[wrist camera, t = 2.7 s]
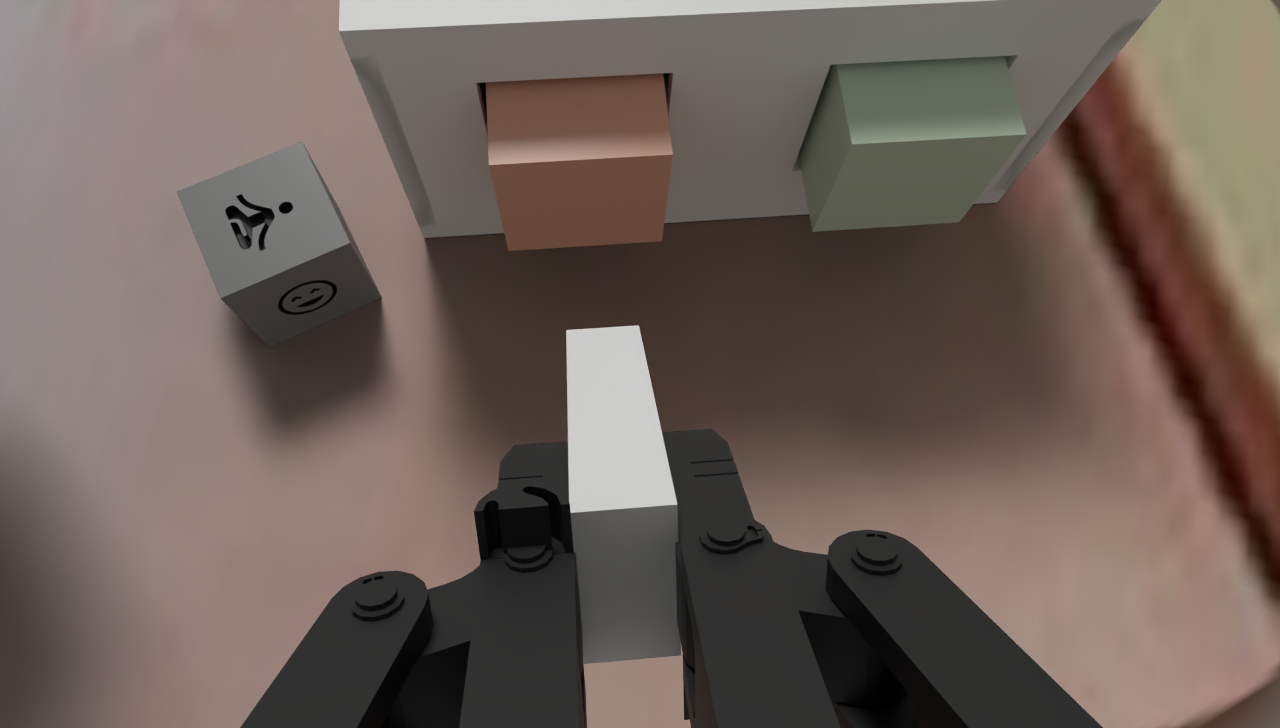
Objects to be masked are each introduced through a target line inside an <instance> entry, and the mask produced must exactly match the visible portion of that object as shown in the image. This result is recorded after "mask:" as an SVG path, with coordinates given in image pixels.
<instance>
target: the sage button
mask: <svg viewBox="0 0 1280 728" xmlns="http://www.w3.org/2000/svg"><path fill="white" fill-rule="evenodd" d="M1026 135H1027V134H1026V130H1025V127H1024V123H1023V120H1022V116H1021V112H1020V109H1019V105H1018V102H1017V98H1016V95H1015V91H1014V88H1013V84H1012V81H1011V77H1010V73H1009V70H1008V66H1007V63H1006V59H1005V56H992V57H973V58H953V59H933V60H914V61H894V62H874V63H855V64H835V65H830V68H829V71H828V74H827V76H826V79H825V82H824V85H823V87H822V90H821V93H820V96H819V98H818V101H817V104H816V107H815V109H814V112H813V115H812V118H811V120H810V123H809V126H808V129H807V132H806V134H805V137H804V140H803V143H802V145H801V148H800V151H799V159H800V165H801V171H802V176H803V182H804V188H805V193H806V199H807V205H808V210H809V216H810V222H811V227H812V232H816V231H832V230H848V229H864V228H880V227H896V226H911V225H927V224H943V223H959V222H960V221H961V219H962V218H963V217H964V216H965V214H966V213H967V212H968V210H969V209H970V208H971V206H972V205H973V204H974V203H975V201H976V200H977V199H978V197H979V196H980V195H981V193H982V192H983V191H984V189H985V188H986V187H987V186H988V184H989V183H990V182H991V180H992V179H993V178H994V176H995V175H996V174H997V172H998V171H999V170H1000V169H1001V167H1002V166H1003V165H1004V163H1005V162H1006V161H1007V159H1008V158H1009V157H1010V156H1011V154H1012V153H1013V152H1014V150H1015V149H1016V148H1017V146H1018V145H1019V144H1020V142H1021V141H1022V140H1023V139H1024V137H1025V136H1026Z"/></svg>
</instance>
